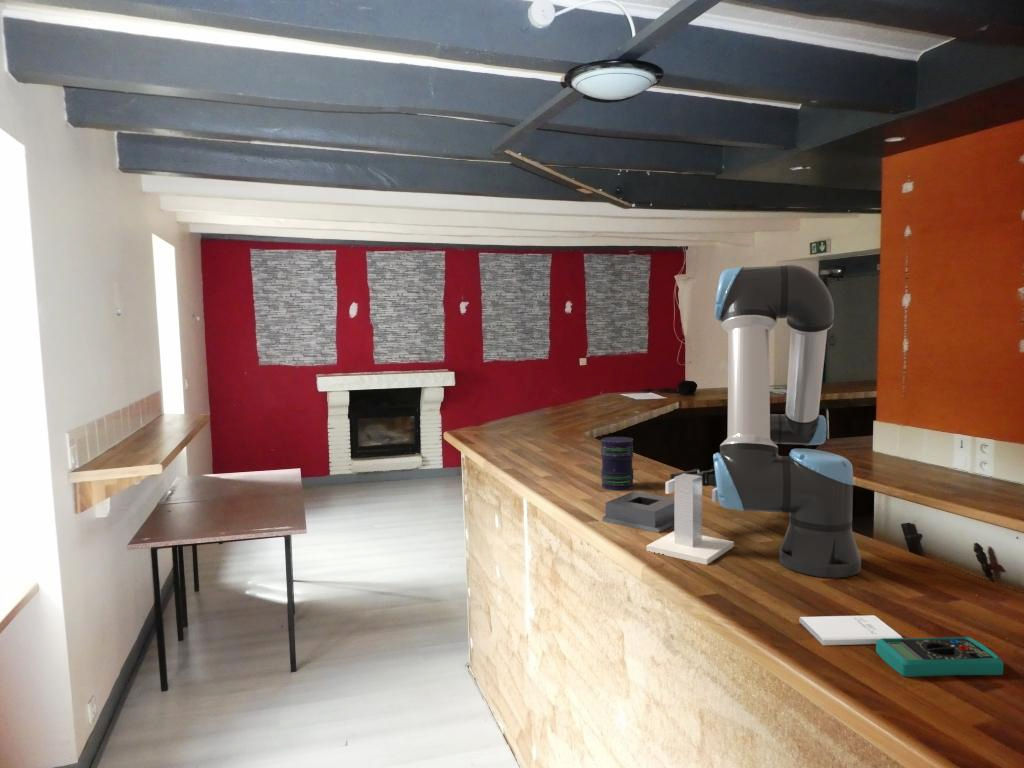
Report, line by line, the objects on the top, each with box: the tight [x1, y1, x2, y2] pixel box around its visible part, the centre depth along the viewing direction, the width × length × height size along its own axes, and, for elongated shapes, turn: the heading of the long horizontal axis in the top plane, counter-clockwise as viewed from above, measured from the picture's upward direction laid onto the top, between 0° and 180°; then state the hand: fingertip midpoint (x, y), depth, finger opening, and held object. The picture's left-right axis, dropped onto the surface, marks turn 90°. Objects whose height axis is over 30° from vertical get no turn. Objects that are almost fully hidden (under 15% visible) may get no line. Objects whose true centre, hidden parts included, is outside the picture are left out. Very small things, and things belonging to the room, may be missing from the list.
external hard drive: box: [799, 614, 903, 646], centre depth 105 cm, size 2×8×12 cm
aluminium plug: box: [673, 474, 703, 547], centre depth 145 cm, size 4×4×15 cm
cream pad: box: [646, 530, 735, 566], centre depth 146 cm, size 14×14×1 cm
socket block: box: [601, 491, 674, 534], centre depth 170 cm, size 16×20×5 cm
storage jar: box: [600, 436, 634, 492], centre depth 202 cm, size 10×10×15 cm
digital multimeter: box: [875, 636, 1005, 678], centre depth 95 cm, size 7×15×3 cm, turn 90°
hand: (689, 491), depth 147 cm, fingers open, 11 cm apart
